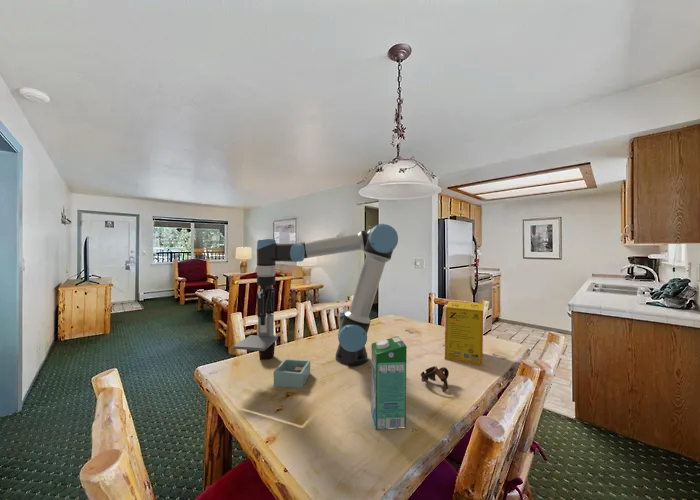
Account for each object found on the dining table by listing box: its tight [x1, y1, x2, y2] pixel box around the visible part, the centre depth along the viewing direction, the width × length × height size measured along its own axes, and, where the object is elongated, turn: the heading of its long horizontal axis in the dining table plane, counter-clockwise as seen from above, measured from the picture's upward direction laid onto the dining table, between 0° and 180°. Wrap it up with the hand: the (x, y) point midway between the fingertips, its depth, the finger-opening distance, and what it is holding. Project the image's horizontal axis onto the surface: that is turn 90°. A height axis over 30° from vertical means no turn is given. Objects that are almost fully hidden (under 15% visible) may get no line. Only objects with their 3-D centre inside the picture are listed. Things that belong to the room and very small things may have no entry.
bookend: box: [232, 313, 279, 352], centre depth 114 cm, size 12×17×9 cm
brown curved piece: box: [420, 365, 450, 393], centre depth 111 cm, size 12×10×8 cm
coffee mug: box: [258, 334, 277, 361], centre depth 137 cm, size 12×9×10 cm
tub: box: [273, 358, 311, 389], centre depth 113 cm, size 11×12×6 cm
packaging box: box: [444, 300, 484, 366], centre depth 139 cm, size 16×16×25 cm
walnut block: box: [295, 366, 304, 373], centre depth 116 cm, size 4×4×4 cm
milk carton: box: [370, 335, 408, 430], centre depth 88 cm, size 9×9×25 cm
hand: (266, 330), depth 120 cm, fingers closed on bookend, 4 cm apart
